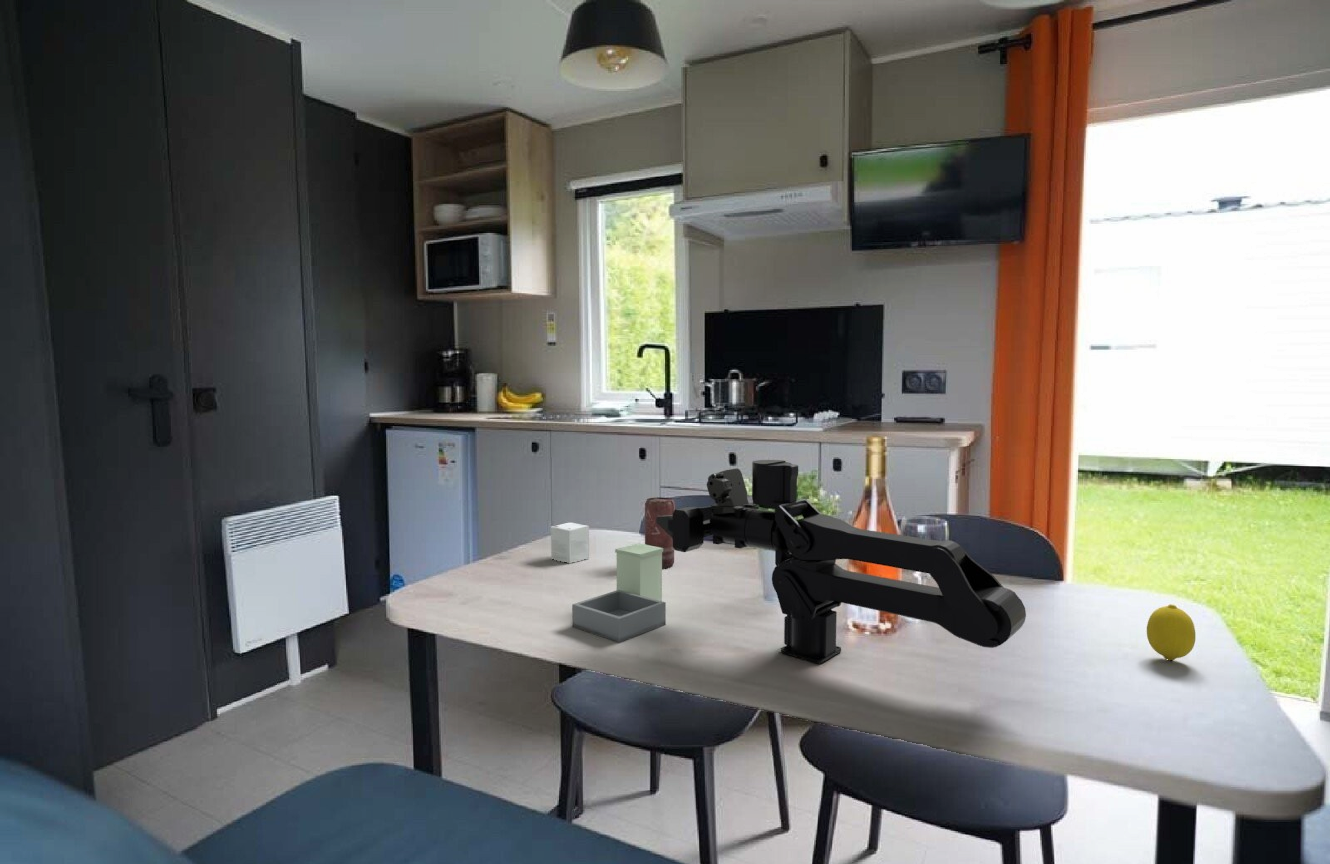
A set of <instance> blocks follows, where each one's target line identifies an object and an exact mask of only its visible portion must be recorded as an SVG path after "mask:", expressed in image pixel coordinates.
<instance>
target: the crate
mask: <svg viewBox="0 0 1330 864" xmlns="http://www.w3.org/2000/svg"><path fill="white" fill-rule="evenodd" d="M571 604H572V605H571V611H572V612H571V613H572V614H571V615H572V619H571V622H572V628H575V629H578V630H581V631H584V632H588V633H590V634H593V635H596V636H599V637H601V638H604V639H605V638H606V639H608V640H611V641H613V642H617V643H620V644H621V643H622V642H624V641H627V640H630V639H633V638H635V637H637V636H640V635H643V634H645V633H648V632H650V631H653V630H655V629H657V628H660V627H663V626H666V623H667V619H666V613H667V612H666V611H667V609H666V602H665V601H663V600H662V601H659V600H655V599H651V598H648V597H644V596H640V595H636V594H633V593H629V592H625V591H622V590H617V589H616V590H613V591H610V592H606V593H605V594H601V595H600V594H599V595H598V596H595V597H591V598H587V599H585V600H582V601H578V602H575V603H571Z"/></svg>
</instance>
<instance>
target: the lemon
mask: <svg viewBox="0 0 1330 864" xmlns="http://www.w3.org/2000/svg"><path fill="white" fill-rule="evenodd" d="M1150 614H1151V615H1150V616H1149V618H1148V621H1147V624H1146V637H1147V640H1148V643H1149V645H1150V647H1151V648H1152V650H1154V651H1155V652H1156V653H1157V654H1158V655H1160V656H1162V657H1163V658H1164V660H1166V659H1168V660H1173V661H1174V660H1176V659H1179V658H1180V659H1181V658H1184V657H1185V656H1187V655H1189V653H1190V652H1192V650H1193V649H1194V646H1195V643H1196V628H1195V624H1194V621H1193V619H1192V617H1190V615H1189V614H1187V612H1185V611H1184V610H1183V609H1181V608H1180V607H1177V605H1175V604H1172V603H1171V604H1168V605H1165V606H1162V607H1159V608H1157V609H1155V610H1154V611H1153V612H1152V613H1150Z"/></svg>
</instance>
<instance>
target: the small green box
mask: <svg viewBox="0 0 1330 864" xmlns="http://www.w3.org/2000/svg"><path fill="white" fill-rule="evenodd" d="M614 550H615V551H614V552H615V553H616V590H622V591H625V592H629V593H633V594H636V595H640V596H644V597H648V598H651V599H655V600H659V601H662V602H663V569H662V552H663V548H660V547H655V546H650V545H645V543H641V542H637V543H634V544H630V545H626V546H621V547H618V548H615V549H614Z"/></svg>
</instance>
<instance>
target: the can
mask: <svg viewBox="0 0 1330 864" xmlns="http://www.w3.org/2000/svg"><path fill="white" fill-rule="evenodd" d="M675 504H676V503H675V501H674V500H673V498H671V497H670V498H669V497H658V496H657V497H649V498H647V499H646V500H645V503H644V544H645V545H650V546H655V547H660V548H663V552H662V570H663V569H668V568H672V567H673V566H674V564H675V550H674V548H673V539H672V538H671V537H670V536H669V535H668V534H667V533H666V532H665V531H664V530H663V529H662V528H661V527H660V526H659V525H658V524H657V523H656V517H657V516H667V515H673V512H674V510H675V509H676V508H675V507H676V506H675Z"/></svg>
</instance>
